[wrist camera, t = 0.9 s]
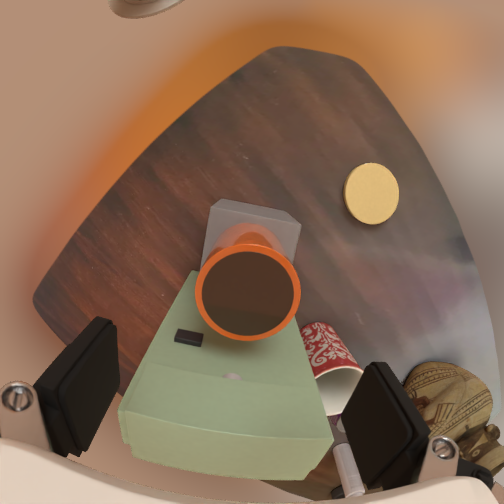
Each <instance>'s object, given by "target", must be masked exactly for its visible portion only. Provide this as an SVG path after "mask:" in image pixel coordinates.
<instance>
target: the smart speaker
mask: <svg viewBox="0 0 504 504" xmlns="http://www.w3.org/2000/svg"><path fill="white" fill-rule="evenodd" d="M331 495H332V500H334V499H342V498H345V494H344V490H343V487H342V486H340V487H338V488H336V489H334V490H333V491H332V493H331Z"/></svg>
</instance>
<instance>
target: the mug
mask: <svg viewBox="0 0 504 504" xmlns="http://www.w3.org/2000/svg"><path fill="white" fill-rule="evenodd" d="M300 334H301V337H302V340H303V343H304V346H305V350H306V353H307V356H308V359H309V362H310V365H311V368H312V371H313V374H314V377H315V380H316V384H317V387H318V390H319V393H320V396H321V399H322V403H323V406H324V409H325V412H326V415H327V416H331V415H336V414H340V413H342V411H343V409H344V408H345V406H346V404H347V402H348V400H349V399H350V397H351V395H352V393H353V391H354V389H355V387H356V386H357V384H358V382H359V380H360V378H361V376H362V374H363V372H364V371H363V370H362V369H361V368H360V367H359V365H358V364H357V362H356V361H355V359H354V358H353V356H352V355H351V354H350V352H349V351H348V349H347V348H346V346H345V345H344V343H343V342H342V341H341V339H340V338H339V336H338V335H337V333H336V332H335V331H334V329H333V328H332V327H331V326H330V325H328V324H326V323H322V322H315V323H311V324H308V325H306V326H305V327H303V328H302V329H301V330H300Z"/></svg>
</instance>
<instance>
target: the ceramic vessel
mask: <svg viewBox="0 0 504 504" xmlns="http://www.w3.org/2000/svg"><path fill="white" fill-rule="evenodd" d="M403 388H404V389H405V391H406V392H407V394H408V396H409V397H410V399H411V400H412V402H413V403H414V405H415V406H416V408H417V409H418V411H419V413H420V414H421V416H422V417H423V419H424V420H425V422H426V424H427V425H428V427H429V428H430V430H431V433H430V434H429V436H428V437H429V439H431V438H432V437H433V436H436V435H444V436H447V437H449V438H451V439H452V440H453V441H454V442H455V443H456V444H457V446H458V449H459V457H460V458H463V459H465V460H468V461H470V462H473V463H475V464H478V465H481V466H483V467H485V468H487V469H489V470H490V472H491V474H492V476H493V477H494V476H495V475H496V474H497V473H498V472H499V471H500V470H501V469H502V468H503V467H504V446H502V445H500V444H499V443H498V441H497V439H498V438H499V437H500V430H499V428H498V427H497V426H495V425H494V424H490V425H488V426H486V424H487V423H488V421H489V418H490V414H491V410H492V406H493V401H492V396H491V393H490V391H489V389H488V388H487V386H486V385H485V384H484V383H483V382H482V381H481V380H480V379H479V378H478V377H476V376H475V375H474V374H472V373H470V372H469V371H467V370H465V369H463V368H461V367H458V366H456V365H453V364H450V363H444V362H426V363H422V364H420V365H418V366H416V367H415V368H414V369H413V370H412V372H411V373H410V375H409V377H408V379H407V381H406V383H405V385H404V386H403Z"/></svg>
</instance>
